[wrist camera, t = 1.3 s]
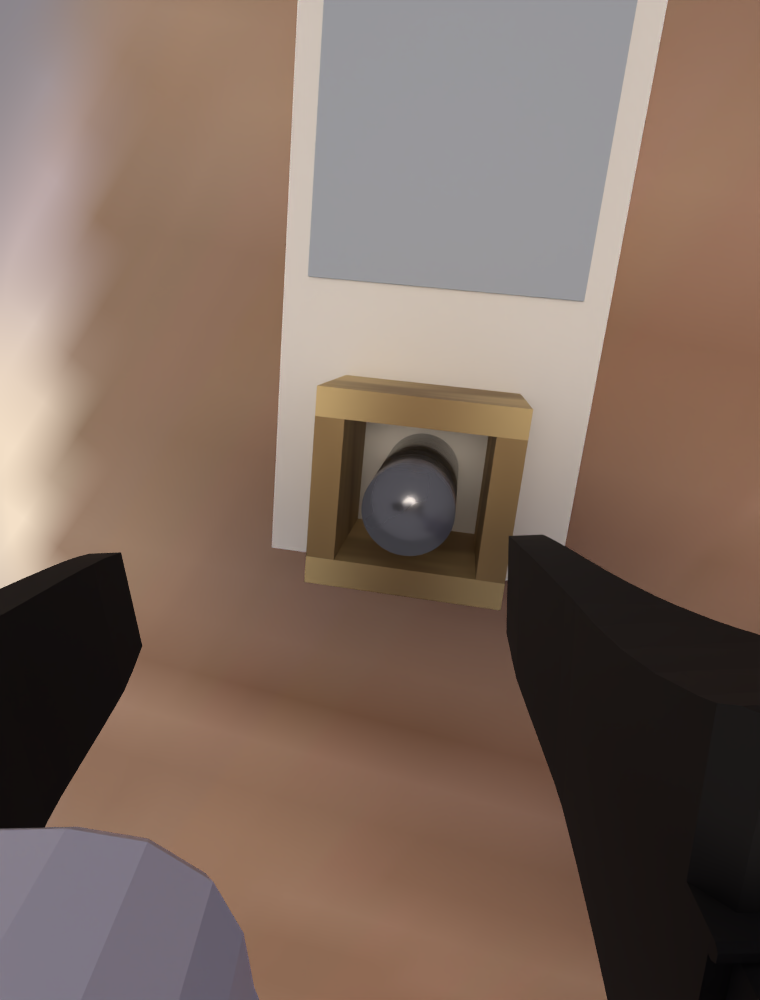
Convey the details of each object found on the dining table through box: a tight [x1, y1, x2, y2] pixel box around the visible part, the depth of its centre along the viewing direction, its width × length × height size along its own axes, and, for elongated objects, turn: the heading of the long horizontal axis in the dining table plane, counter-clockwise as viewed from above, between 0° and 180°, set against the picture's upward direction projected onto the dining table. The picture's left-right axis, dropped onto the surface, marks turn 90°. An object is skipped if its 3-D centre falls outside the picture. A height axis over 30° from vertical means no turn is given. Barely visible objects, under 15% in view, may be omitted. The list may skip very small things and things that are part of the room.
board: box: [272, 0, 668, 580], centre depth 19 cm, size 10×17×1 cm, turn 174°
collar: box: [304, 375, 533, 610], centre depth 19 cm, size 6×6×4 cm
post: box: [361, 433, 459, 556], centre depth 19 cm, size 2×2×6 cm
